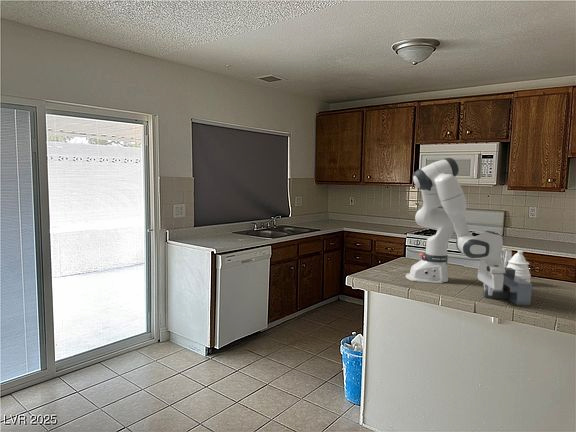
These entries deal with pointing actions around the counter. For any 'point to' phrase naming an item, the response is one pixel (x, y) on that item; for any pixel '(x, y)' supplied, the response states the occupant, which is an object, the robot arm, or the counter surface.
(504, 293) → the plug
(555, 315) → the counter surface
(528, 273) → the honey pot
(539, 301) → the counter surface
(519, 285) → the grey block
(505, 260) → the beer glass
